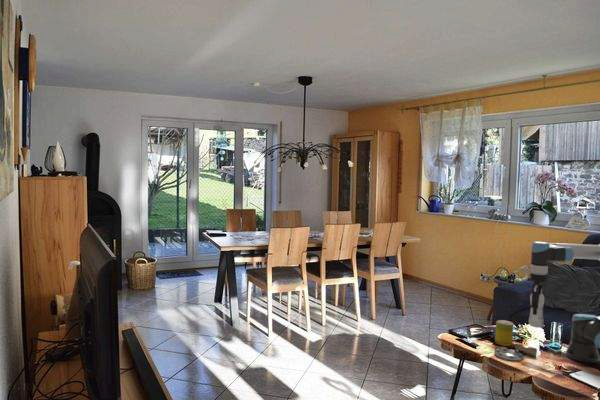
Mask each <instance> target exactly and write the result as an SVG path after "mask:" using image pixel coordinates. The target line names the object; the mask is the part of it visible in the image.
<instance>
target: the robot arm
mask: <svg viewBox="0 0 600 400" xmlns="http://www.w3.org/2000/svg"><path fill="white" fill-rule="evenodd" d="M530 250H531V253H530V254H531V256H530V265H529V268H530V275H529V281H531V282H534V284H533V285H532V289H531V290H532V291H531V292H532V293H531V294H532V305H531V304H530V308H531V307H532V321H537V322H538V311H539V308H538V304H539V295H540V294H541V290H542V294H543V295H544V283H547V282H548V273H549V272H548V271H549V270H548V269H549V262H554V263H555V262H556V263H557V262H558V263H567V262H572V261H573V259H579V260H582V259H583V260H598V261H599V262H600V243H599V244H586V243H585V244H583V243H580V244H579V243H566V242H565V243H562V242H561V243H560V242H545V241H534V242H532V246H531V249H530ZM571 319H572V320H571V333H570V334H571V335H570V342H569V344H568V346H567V348H566V353H565V354H566V356H567V357H568V358H569V359H572V360H574V361H577V362H582V363H586V364H587V363H588V364H597V363H599V362H600V353H599V350H598V349H600V315H598V316H597V315H594V314H587V313H575V314H573V316H572V318H571Z"/></svg>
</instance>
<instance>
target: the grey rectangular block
mask: <svg viewBox="0 0 600 400" xmlns="http://www.w3.org/2000/svg"><path fill="white" fill-rule="evenodd" d="M514 351H519V352H520V353H521V354H522V355H526V356H531V357H534V358H536V357H537V353H538V349H537V348H536V347H532V346H529V345H528V346H527V345H524V344H519V343H515V346H514Z"/></svg>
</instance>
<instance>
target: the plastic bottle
mask: <svg viewBox="0 0 600 400" xmlns="http://www.w3.org/2000/svg"><path fill="white" fill-rule="evenodd" d="M545 299H546V298H545V295H544V293H543V294H542V290H541V294H540V295H539V304H538V308H539V311H538V322H537V321H532V307H530V310H529V318H528V324H529V326H530V327H533V328H540V329H541V328H542V327H543V326H544V324H545V322H544V305H545V304H544V303H545ZM529 302H530V306H531V305H532V293H530V295H529Z"/></svg>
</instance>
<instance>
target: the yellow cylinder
mask: <svg viewBox="0 0 600 400" xmlns="http://www.w3.org/2000/svg"><path fill="white" fill-rule="evenodd" d="M494 333H495V336H494V343H495V344H497V345H499V346H504V347H511V346H512V345H513V337H514V336H513V335H514V322H512V321H508V320H506V319H505V320H504V319H498V320H496V321H495V332H494Z"/></svg>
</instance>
